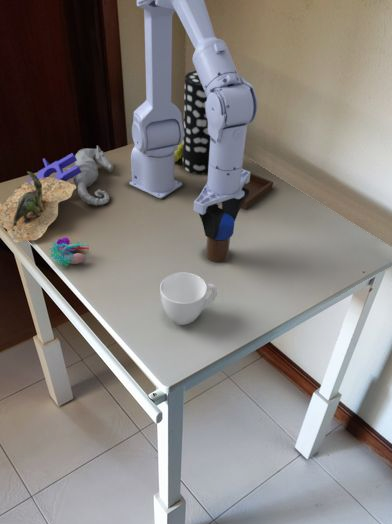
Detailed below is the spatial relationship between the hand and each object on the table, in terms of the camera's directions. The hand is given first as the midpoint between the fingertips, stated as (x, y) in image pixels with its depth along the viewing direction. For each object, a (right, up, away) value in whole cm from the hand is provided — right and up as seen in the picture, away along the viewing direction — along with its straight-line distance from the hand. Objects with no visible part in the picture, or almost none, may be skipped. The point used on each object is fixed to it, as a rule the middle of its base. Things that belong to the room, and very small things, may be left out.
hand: (219, 230), depth 93 cm
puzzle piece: (-35, +15, +15) cm, 41 cm away
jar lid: (0, +1, -1) cm, 2 cm away
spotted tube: (-4, +22, +28) cm, 36 cm away
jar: (0, -4, +4) cm, 6 cm away
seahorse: (-25, +9, +13) cm, 29 cm away
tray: (+6, +14, +21) cm, 26 cm away
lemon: (-10, +28, +27) cm, 40 cm away
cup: (-6, -17, -7) cm, 19 cm away
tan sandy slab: (-40, +10, +4) cm, 42 cm away
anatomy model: (-25, -4, 0) cm, 25 cm away
